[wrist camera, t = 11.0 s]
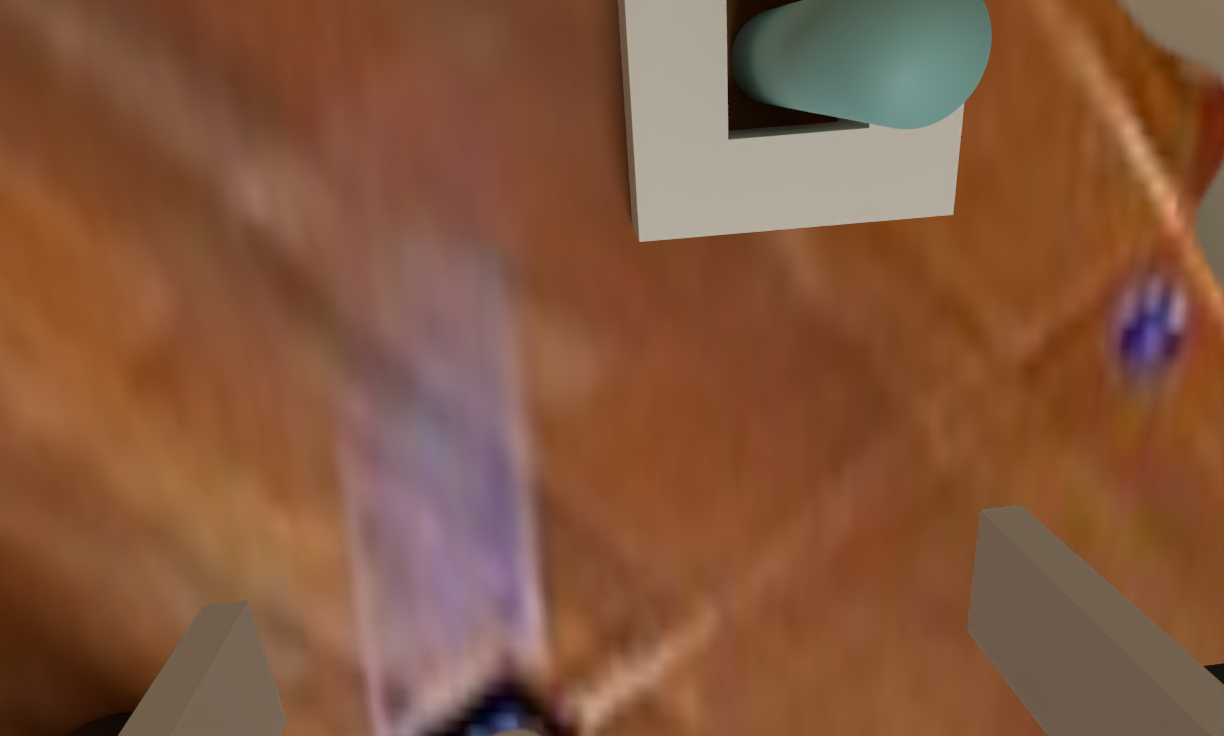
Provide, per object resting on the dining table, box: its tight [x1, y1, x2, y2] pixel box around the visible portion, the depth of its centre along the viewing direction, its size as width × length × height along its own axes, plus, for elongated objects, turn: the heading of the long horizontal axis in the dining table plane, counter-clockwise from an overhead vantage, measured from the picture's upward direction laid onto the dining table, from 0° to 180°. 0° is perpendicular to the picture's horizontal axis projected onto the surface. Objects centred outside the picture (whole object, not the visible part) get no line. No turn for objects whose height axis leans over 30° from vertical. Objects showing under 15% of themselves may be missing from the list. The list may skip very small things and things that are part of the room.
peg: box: [730, 0, 992, 129], centre depth 27 cm, size 4×4×15 cm
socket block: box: [618, 0, 964, 242], centre depth 32 cm, size 14×14×4 cm
